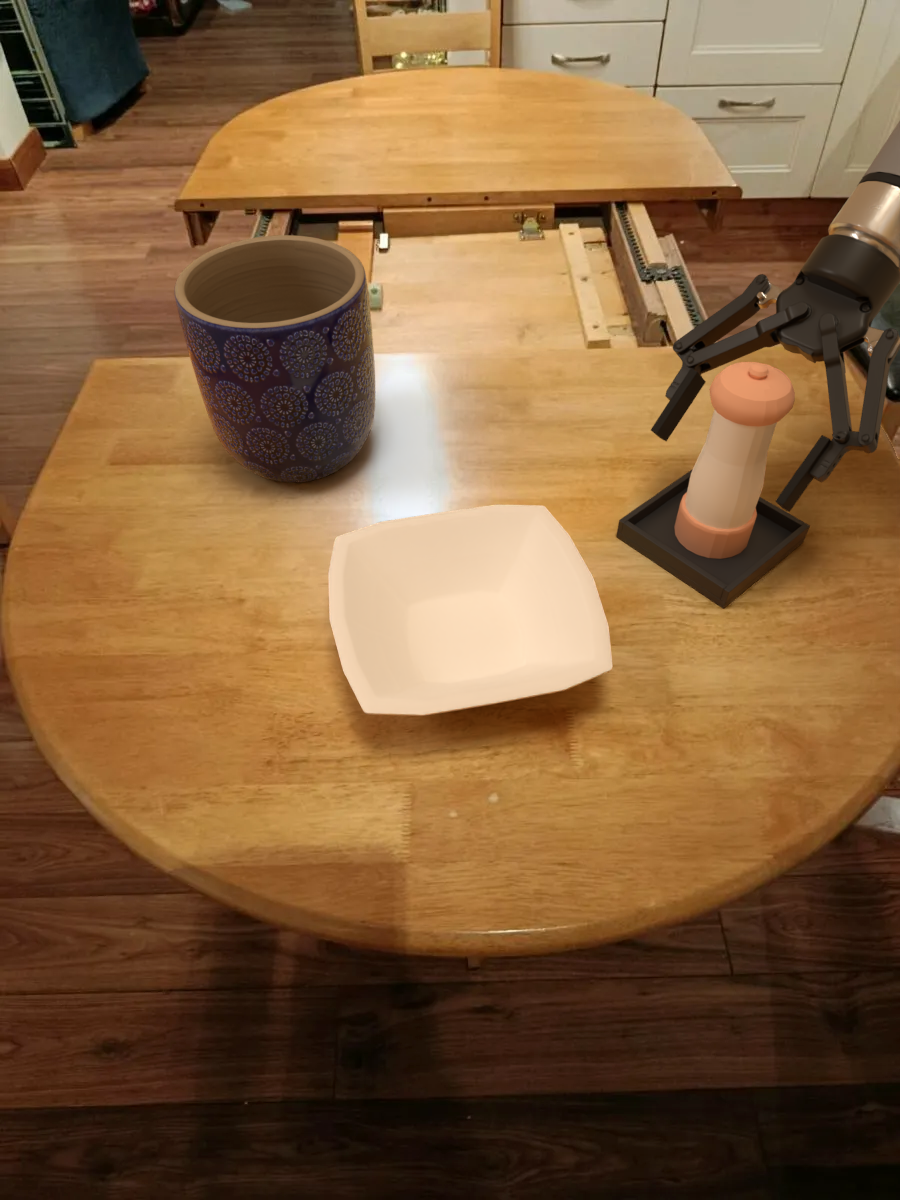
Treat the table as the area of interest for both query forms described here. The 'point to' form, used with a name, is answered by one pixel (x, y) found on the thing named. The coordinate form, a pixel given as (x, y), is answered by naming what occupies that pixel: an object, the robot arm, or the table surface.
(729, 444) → the pepper shaker
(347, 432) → the planter
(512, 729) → the table surface
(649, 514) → the tray
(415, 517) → the bowl
